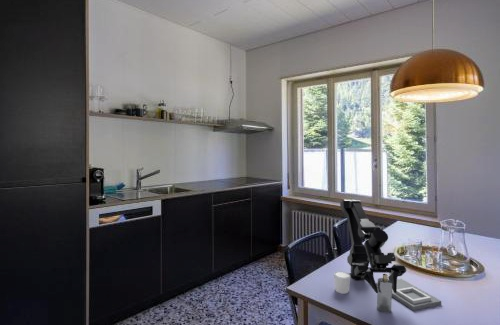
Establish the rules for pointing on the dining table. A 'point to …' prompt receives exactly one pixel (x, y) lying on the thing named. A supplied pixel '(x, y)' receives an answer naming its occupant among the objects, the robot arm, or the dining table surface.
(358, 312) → the dining table surface
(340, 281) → the shot glass
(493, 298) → the dining table surface
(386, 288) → the gold-capped silver bottle
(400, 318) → the dining table surface
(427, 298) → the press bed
